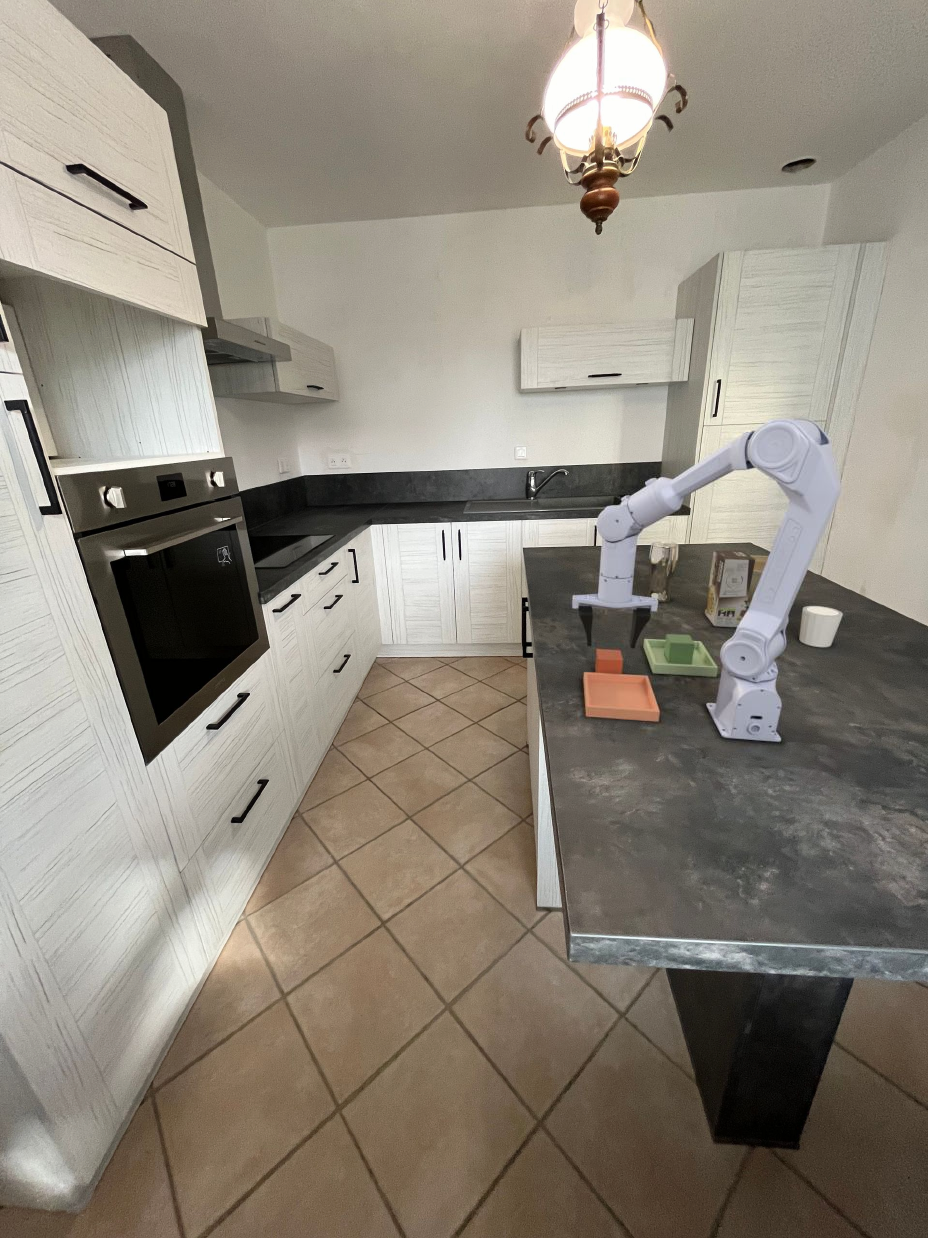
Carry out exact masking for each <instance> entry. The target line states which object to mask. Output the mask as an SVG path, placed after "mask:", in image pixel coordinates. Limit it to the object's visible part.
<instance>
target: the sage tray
mask: <svg viewBox="0 0 928 1238" xmlns="http://www.w3.org/2000/svg"><path fill="white" fill-rule="evenodd" d="M665 640H666V639H658V638H657V639H654V638H653V639H651V638H644V639H643V650H644V653H645V655H646V658H647V660H648V663H649V667H650V669H651V672H652V674H661V675H676V676H678V675H680V676H694V677H696V676H697V677H698V676H699V677H715V678H717V675H718V671H719V667H718V665H717V664H716V662H715V660H714V659H713V658H712V656H711V654H710V653H709V652H708V650H707V648H706V646H705V645H704V644H703V642H702V641H700V640H693V642H694V643H695V646H694V653H693V660H692V664H676V663H668V662H667V660H666V657H665V655H664V648H665Z"/></svg>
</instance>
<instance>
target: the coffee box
mask: <svg viewBox="0 0 928 1238" xmlns="http://www.w3.org/2000/svg"><path fill="white" fill-rule="evenodd" d="M751 556H752V555H750V554H748V553H747V552H745V551H743V550H735V549H733V550H732V549H731V550H713V555H712V561H711V567H710V568H711V569H710V574H709V583H708V590H707V596H706V603H705V609H704V615H705V616H706V617H707V618H708V620H709V621H710V622H711V624H712V625H713V626H714V627H722V628H723V627H724V628H737V627H738V625H739V623H740V622H741V620H742V618H743V617H744V615H745V614H746V612H747V608H748V607H747V601H748V596H749V591H750V585H751V580H752V575H753V570H754V564H755V560H756V559H754V558H753V557H751Z"/></svg>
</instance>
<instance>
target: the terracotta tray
mask: <svg viewBox="0 0 928 1238" xmlns="http://www.w3.org/2000/svg"><path fill="white" fill-rule="evenodd" d="M583 694H584V706H585V707H584V709H585V717H589V718H600V719H601V718H602V719H616V720H629V721H630V720H631V721H642V722H643V721H644V722H654V723H655V722H659V721H660V708H659V705H658V702H657V700H656V696H655V693H654V690H653V687H652V684H651V680H650V679H649V675H644V674H643V675H642V674H627V673H625V674H623V673H622V674H609V673H596V672H592V671H591V672H590V671H589V672H588V671H584V672H583Z"/></svg>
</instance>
